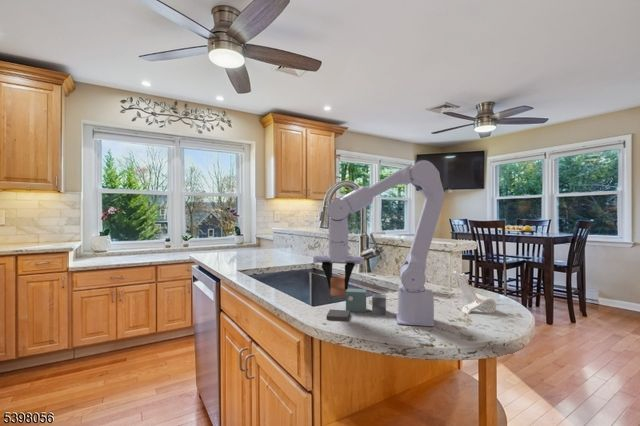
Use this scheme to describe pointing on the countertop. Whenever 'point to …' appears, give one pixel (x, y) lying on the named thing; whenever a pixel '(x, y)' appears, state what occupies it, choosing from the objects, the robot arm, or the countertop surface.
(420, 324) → the robot arm
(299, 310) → the countertop surface
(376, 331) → the countertop surface
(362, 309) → the box
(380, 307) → the slate block
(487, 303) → the plastic part
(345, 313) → the mat
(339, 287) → the terracotta block
